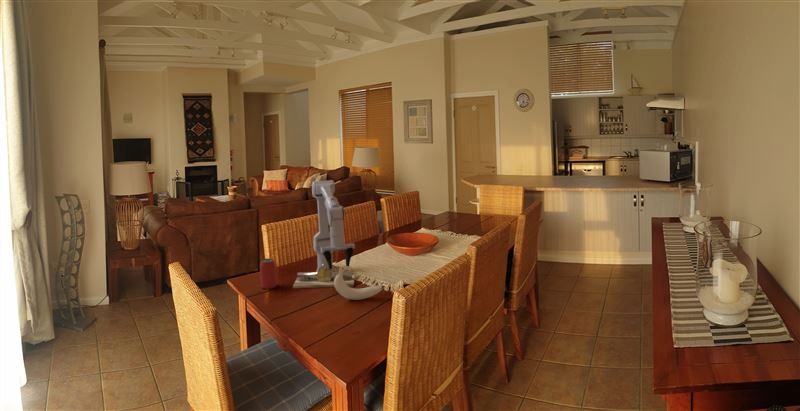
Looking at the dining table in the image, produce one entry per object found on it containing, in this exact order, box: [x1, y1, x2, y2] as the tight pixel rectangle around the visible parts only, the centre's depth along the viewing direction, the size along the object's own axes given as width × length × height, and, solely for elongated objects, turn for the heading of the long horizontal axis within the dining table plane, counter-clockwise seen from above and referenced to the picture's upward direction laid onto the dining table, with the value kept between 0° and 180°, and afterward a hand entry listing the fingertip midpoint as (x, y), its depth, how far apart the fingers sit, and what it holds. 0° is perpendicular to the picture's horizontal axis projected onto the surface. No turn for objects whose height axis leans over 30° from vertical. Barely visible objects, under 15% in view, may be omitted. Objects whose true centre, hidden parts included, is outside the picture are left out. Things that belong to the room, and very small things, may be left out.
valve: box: [296, 267, 353, 282], centre depth 213 cm, size 5×24×6 cm, turn 92°
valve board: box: [292, 273, 356, 289], centre depth 213 cm, size 14×26×1 cm, turn 92°
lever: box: [318, 263, 327, 276], centre depth 207 cm, size 13×2×2 cm, turn 2°
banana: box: [334, 267, 383, 301], centre depth 191 cm, size 5×19×15 cm, turn 100°
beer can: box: [259, 258, 278, 290], centre depth 208 cm, size 7×7×12 cm
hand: (339, 267), depth 202 cm, fingers open, 7 cm apart
